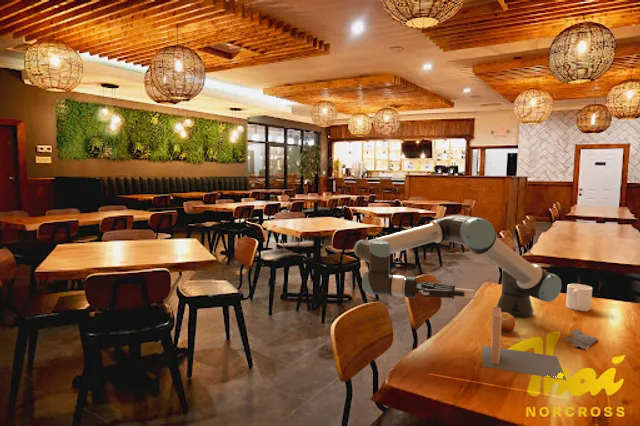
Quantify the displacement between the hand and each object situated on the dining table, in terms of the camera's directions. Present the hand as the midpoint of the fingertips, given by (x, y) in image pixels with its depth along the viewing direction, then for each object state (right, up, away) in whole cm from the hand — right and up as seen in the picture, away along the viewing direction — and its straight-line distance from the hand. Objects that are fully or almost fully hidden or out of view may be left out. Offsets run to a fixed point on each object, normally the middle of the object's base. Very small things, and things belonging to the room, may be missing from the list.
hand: (474, 294), depth 145 cm
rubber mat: (+14, -22, -3) cm, 26 cm away
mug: (+68, -17, +55) cm, 89 cm away
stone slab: (+46, -21, +17) cm, 53 cm away
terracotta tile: (+7, -21, 0) cm, 22 cm away
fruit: (+21, -20, +26) cm, 39 cm away
